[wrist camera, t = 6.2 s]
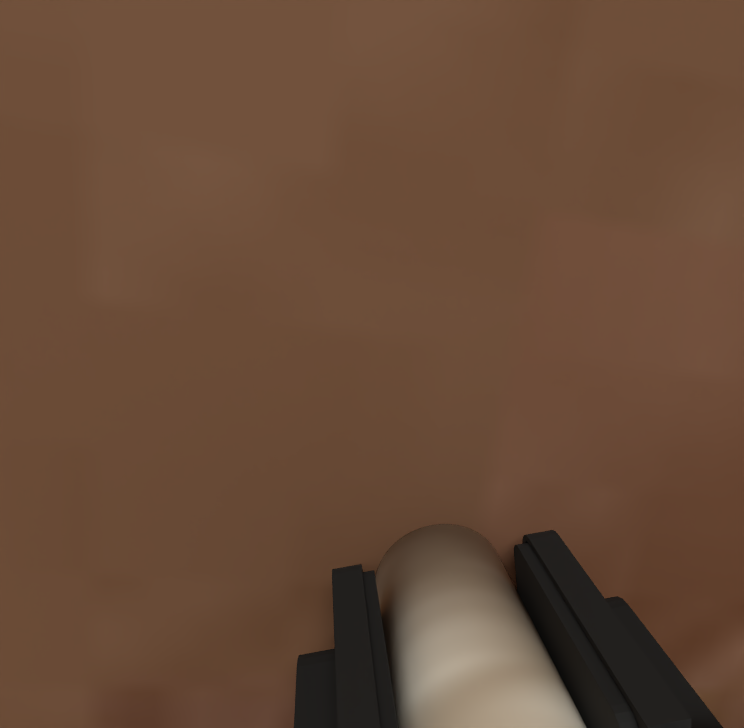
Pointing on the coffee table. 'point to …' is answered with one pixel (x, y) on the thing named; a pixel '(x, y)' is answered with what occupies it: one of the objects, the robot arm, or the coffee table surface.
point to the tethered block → (464, 638)
